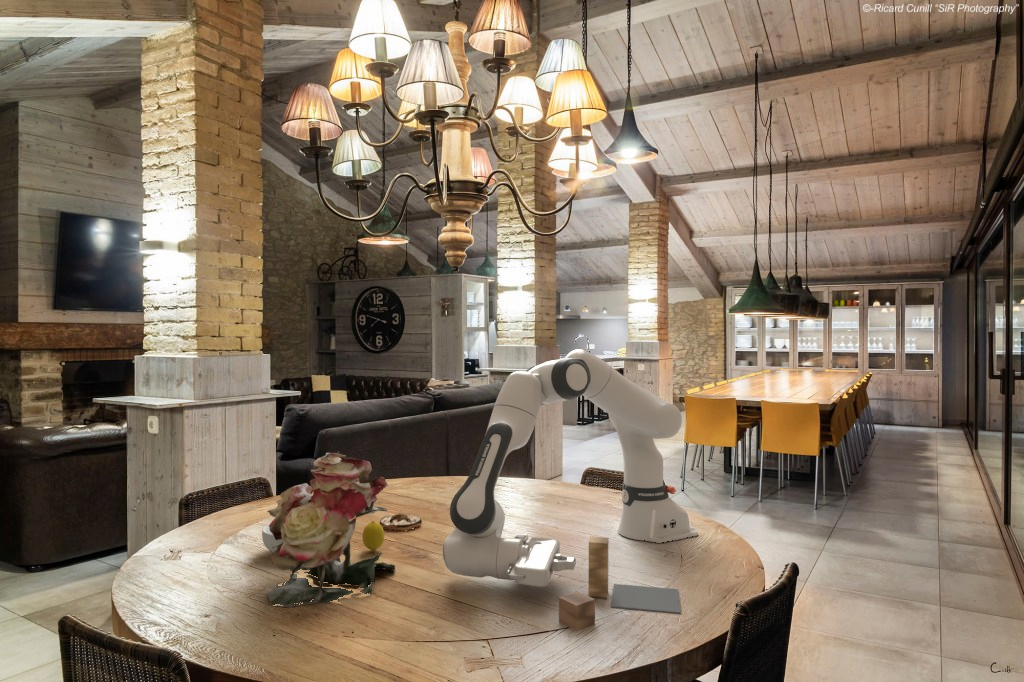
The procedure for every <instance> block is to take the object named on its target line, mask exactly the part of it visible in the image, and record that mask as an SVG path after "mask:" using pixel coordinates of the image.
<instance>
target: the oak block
mask: <svg viewBox="0 0 1024 682" xmlns="http://www.w3.org/2000/svg"><path fill="white" fill-rule="evenodd" d="M588 540H589V541H588V594H587V596H589V597H592V598H594V599H600V600H608V597H609V537H603V536H591V535H590V536H589V539H588Z"/></svg>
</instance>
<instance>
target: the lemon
mask: <svg viewBox="0 0 1024 682" xmlns="http://www.w3.org/2000/svg"><path fill="white" fill-rule="evenodd" d="M384 539H385V531H384V529H383V527H382V526H381V525H380V522H377V521H375V520H372V521H370V522H369V523H367V524H366V525H365V527H364V528H363V531H362V542H363V545H364V547H366V549H368V550H370V551H371V552H373V551H374V552H375V551H376V550H377V549H379V548H381V546H382V545H383V544H384V541H385V540H384Z"/></svg>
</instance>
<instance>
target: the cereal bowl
mask: <svg viewBox="0 0 1024 682" xmlns="http://www.w3.org/2000/svg"><path fill="white" fill-rule="evenodd" d="M269 525H270V524H268V525H265V526H264V527H263V528H262V530H261V531H262V532H261V537H262V542H263V545H264V547H265V548H266V549H267V550H268V551H269V552H271V553H272V554H274V552H275V551H276V550H277V547H275V546H278V545H280V544H282V543H283V542H284V540H283V539H281V540H275V538H274V536H273V534H272V533H271V532H270V530H269V529H270V527H269ZM273 547H274V548H273ZM285 557H289V556H288V555H286V556H285Z"/></svg>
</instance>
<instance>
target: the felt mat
mask: <svg viewBox="0 0 1024 682" xmlns="http://www.w3.org/2000/svg"><path fill="white" fill-rule="evenodd" d="M679 596H680V595H679V589H678V588H668V587H657V586H656V587H654V586H647V585H646V586H645V585H634V584H633V585H631V584H622V583H621V584H620V583H619V584H618V583H614V584H613V589H612V597H611V603H610V605H611V606H610V608H614V609H623V610H624V609H625V610H634V611H645V612H658V613H659V612H660V613H668V614H676V615H677V614H679V615H681V614H682V613H681V612H682V611H681V605H680V597H679Z"/></svg>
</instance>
